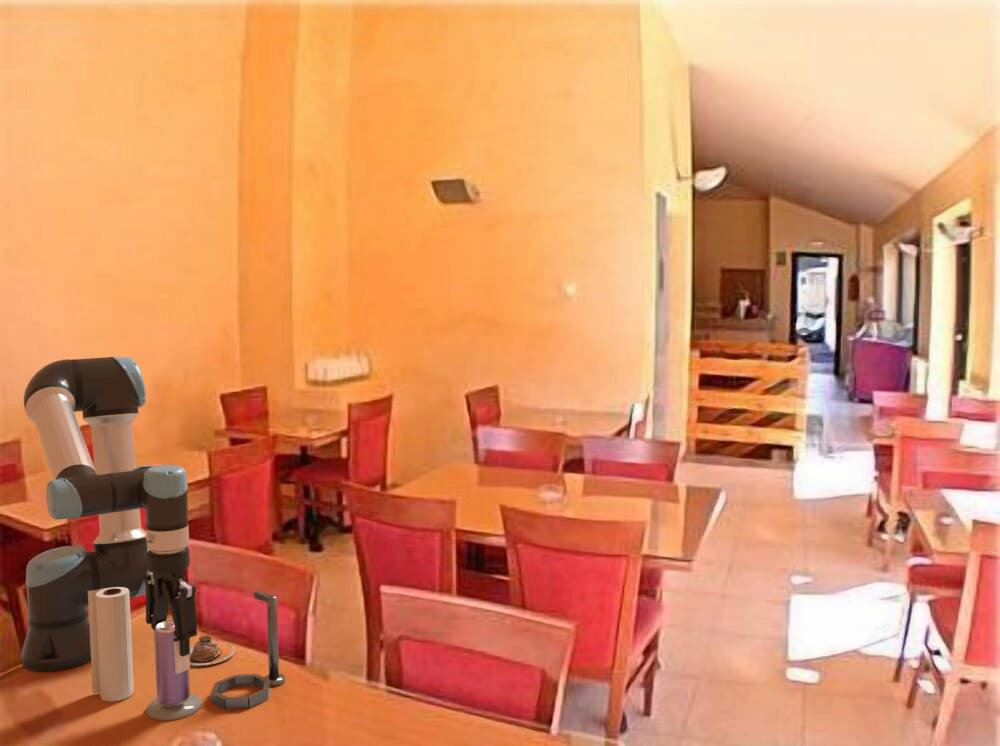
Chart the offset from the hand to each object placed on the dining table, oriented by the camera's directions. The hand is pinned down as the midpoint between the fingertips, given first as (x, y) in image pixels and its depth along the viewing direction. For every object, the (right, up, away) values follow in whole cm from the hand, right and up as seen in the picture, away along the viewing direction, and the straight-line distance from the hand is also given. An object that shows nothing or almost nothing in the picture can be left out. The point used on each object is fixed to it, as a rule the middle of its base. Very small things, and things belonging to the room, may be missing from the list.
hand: (172, 665), depth 174 cm
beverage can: (0, -7, +1) cm, 7 cm away
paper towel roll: (-13, -8, +6) cm, 17 cm away
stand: (+13, -8, +8) cm, 17 cm away
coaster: (0, -8, +1) cm, 8 cm away
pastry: (-1, -6, +25) cm, 26 cm away
